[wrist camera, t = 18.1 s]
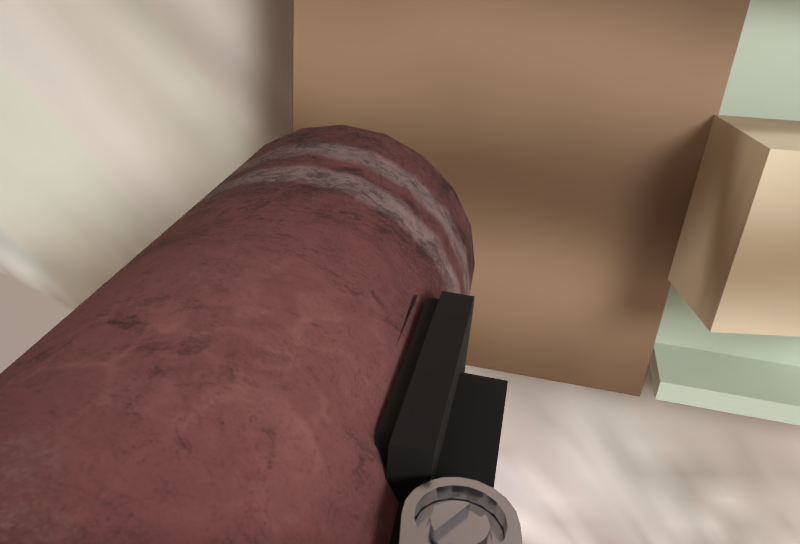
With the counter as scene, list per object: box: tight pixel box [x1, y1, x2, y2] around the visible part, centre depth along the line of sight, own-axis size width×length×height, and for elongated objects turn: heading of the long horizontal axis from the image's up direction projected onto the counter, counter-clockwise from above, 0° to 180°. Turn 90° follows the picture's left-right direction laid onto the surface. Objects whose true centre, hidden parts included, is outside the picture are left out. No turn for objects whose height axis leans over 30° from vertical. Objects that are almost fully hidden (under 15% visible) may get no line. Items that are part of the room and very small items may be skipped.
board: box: [293, 0, 750, 396], centre depth 23 cm, size 14×12×3 cm
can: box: [0, 125, 475, 544], centre depth 11 cm, size 6×6×14 cm
